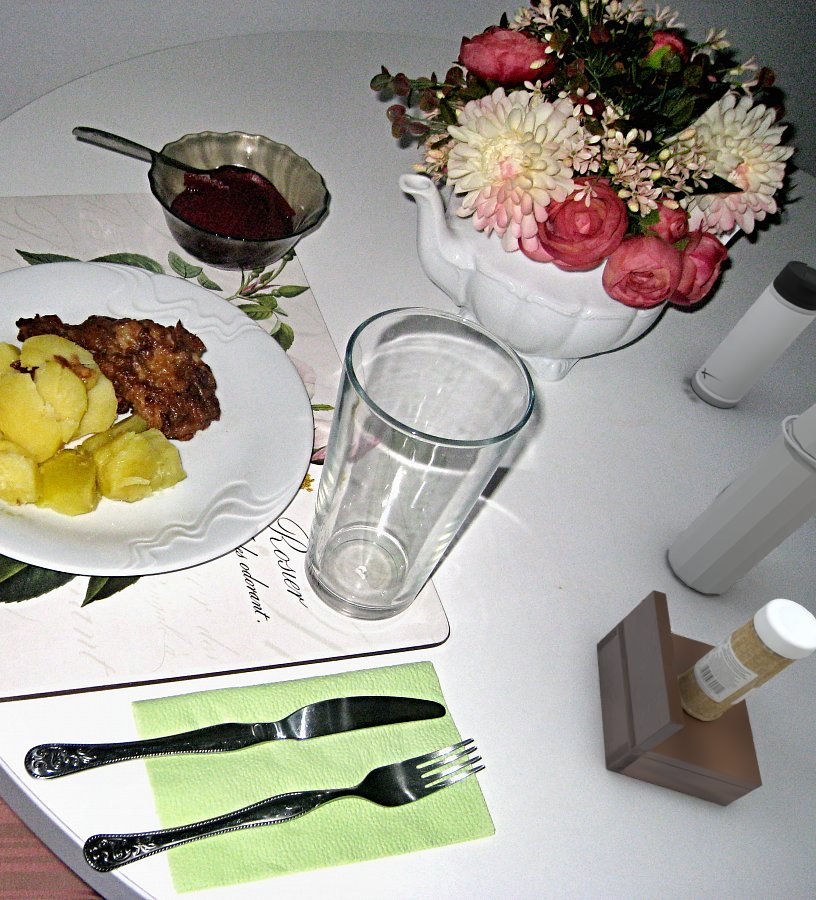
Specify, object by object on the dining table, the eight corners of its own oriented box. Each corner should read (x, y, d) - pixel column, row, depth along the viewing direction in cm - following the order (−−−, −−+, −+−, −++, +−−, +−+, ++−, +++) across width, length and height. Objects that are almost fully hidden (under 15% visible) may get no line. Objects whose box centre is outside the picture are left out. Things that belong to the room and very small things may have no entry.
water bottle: (738, 607, 94) (922, 454, 76) (667, 588, 94) (834, 430, 75) (719, 538, 100) (886, 381, 82) (653, 520, 100) (804, 359, 82)
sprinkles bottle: (728, 723, 78) (836, 650, 68) (682, 721, 77) (785, 646, 68) (707, 675, 81) (808, 598, 71) (662, 672, 80) (758, 594, 70)
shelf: (704, 676, 87) (771, 625, 80) (726, 806, 79) (803, 762, 71) (596, 643, 87) (653, 589, 80) (606, 769, 79) (670, 721, 71)
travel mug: (684, 392, 117) (786, 271, 102) (696, 367, 121) (795, 247, 106) (730, 417, 115) (840, 298, 100) (740, 391, 119) (847, 273, 104)
